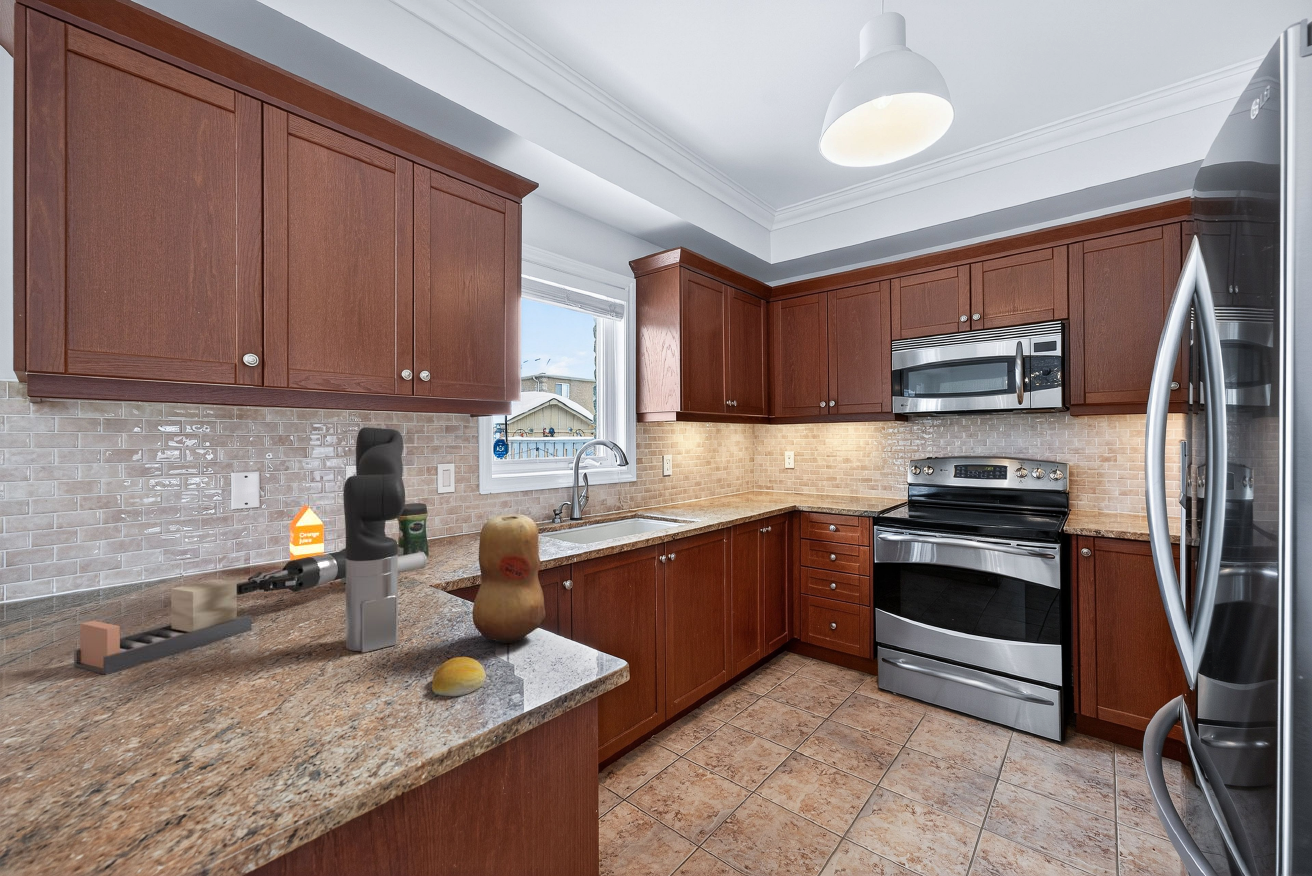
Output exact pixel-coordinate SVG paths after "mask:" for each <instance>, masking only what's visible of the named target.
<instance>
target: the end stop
mask: <svg viewBox="0 0 1312 876" xmlns="http://www.w3.org/2000/svg"><path fill="white" fill-rule="evenodd" d="M120 629H121V627H120V625H116V624H111V623H106V622H101V621H97V620H90V621H86V622H82V623H80V648H81V663H84V664H88V665H92V666H95V667H99V668H103V657H105V656H108V655H112V654H115V653H119V652H120V637H121V635H120V632H121V631H120Z"/></svg>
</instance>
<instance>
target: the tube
mask: <svg viewBox="0 0 1312 876" xmlns="http://www.w3.org/2000/svg"><path fill="white" fill-rule="evenodd" d="M427 564H428V556H426V555H425V554H424V552H420V551H419V552H418V553H413V554H408V555H403V556H398V574H401V573H400V572H402V573H406V572H405V571H407V572H410V571H409V570H411V571H415V570H414V569H416V570H419V569H420V570H421V569H424V568H426V566H427ZM339 580H340V582H341V583H340V584H344V583H346V581H345V578H342V579H339Z"/></svg>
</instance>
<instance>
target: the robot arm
mask: <svg viewBox="0 0 1312 876" xmlns="http://www.w3.org/2000/svg"><path fill="white" fill-rule="evenodd" d="M355 442H356V443H355V475H350V476H349V477H347V478H346V480H345V482H344V485H343V492H342V493H343V496H342V497H343V512H344V513H343V514H344V529H345V548H343V549H341V550H339V551H334V552H330V553H323V554H322V555H314V556H310V557H305V558H300V559H295V560H291V561H290V560H289V561H288V562H287V563H286V564H285V565H284V567H283V568H282V569H273V570H271V572H266V573H264V572H260V571H259V572H257V573H255V574H252V575H251V576H249V577H248V578H247V581H243V582H242V581H241V582H237V596H241V595H245V594H248V593H254V592H258V593H259V592H262V591H263V592H267V593H268V592H271V591H272V592H274V591H282V590H289V591H290V592H295V593H296V592H301V591H304V590H309V589H311V588H316V587H319V586H322V585H325V584H328V583H329V582H335V581H339V580H340V579H342V578H345V581H346V584H345V647H346V649H348V650H349V651H353V652H354V651H355V652H361V653H367V652H371V651H375V650H379V649H383V648H387V647H392V646H395V645H397V644H398V642H397V641H398V640H399V595H398V593H399V584H398V582H399V580H398V577H399V576H398V574H399V573H398V540H396V539H395V538H393V537H389V536H387V535H386V532H385V531H386V530H385V529H386V522H388V521H394V520H396V519H397V518H398V517H399V516H400V515H401V514H402V512H403V510H404V506H405V504H406V489H405V483H404V480H403V471H404V467H403V465H404V464H403V457H402V455H403V450H404V440H403V435H402V433H401V432H400V431H399V430H396V429H393V428H384V427H383V428H381V427H367V426H366V427H361V428H360V429H359V431H358V433H357V436H356V441H355Z"/></svg>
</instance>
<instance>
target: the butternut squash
mask: <svg viewBox="0 0 1312 876" xmlns="http://www.w3.org/2000/svg"><path fill="white" fill-rule="evenodd" d="M539 548H540V547H539V528H538V525H537V524H536V522H534V520H533V519H532V518H531V517H529V516H527V515H525V514H519V513H517V514H516V513H515V514H510V513H509V514H507V513H506V514H502V515H498V516H495V517H492V518H489V520H487V521H486V522H485V523H484V524H483V525H482V527H481V530H480V534H479V544H478V565H479V570H480V586H479V588H478V591H477V594H476V596H475V598H474V602H473V606H472V623H473V625H474V627H475V629H476V630H477V632H479V634H480V635H481V636H482V637H483V638H486V639H489V640H493V641H496V642H499V643H501V644H512V643H517V642H520V641H521V640H522V639H524V638H525V637H527V636H528V635H529V634H531V633H532V632H534V631H536V630H537V629H539V628H540V625H541V623H542V622H543V620H544V619H545V618H546V611H545V600H544V599H545V598H544V597H545V596H544V592H543V589H542V586H541V584H540V580H539V576H538V574H539V571H540V570H541V565H542V562H541V559H540V555H539V554H540V553H539V552H540V550H539Z"/></svg>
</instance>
